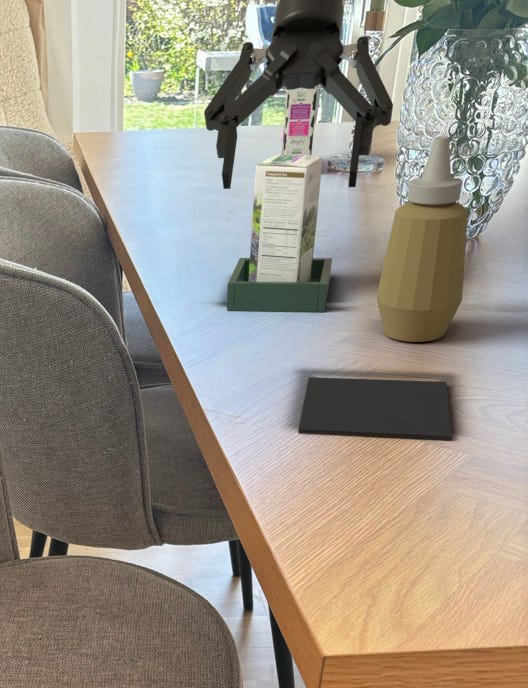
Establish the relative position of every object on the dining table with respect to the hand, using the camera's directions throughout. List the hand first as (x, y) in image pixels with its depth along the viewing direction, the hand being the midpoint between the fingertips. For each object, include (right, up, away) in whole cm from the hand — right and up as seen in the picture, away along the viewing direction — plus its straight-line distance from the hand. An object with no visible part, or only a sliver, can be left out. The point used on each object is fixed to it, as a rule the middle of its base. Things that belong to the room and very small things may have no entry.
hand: (288, 180), depth 109 cm
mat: (+2, -30, -23) cm, 38 cm away
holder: (0, -11, +5) cm, 12 cm away
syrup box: (0, -11, +5) cm, 12 cm away
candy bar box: (+17, +31, +63) cm, 72 cm away
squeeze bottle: (+11, -20, -8) cm, 24 cm away
